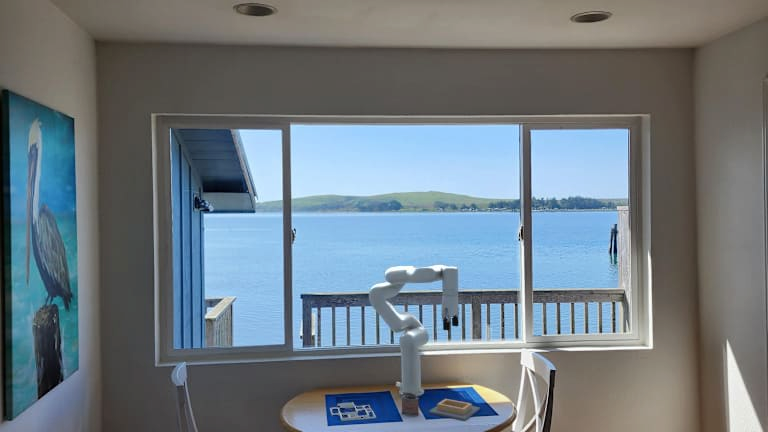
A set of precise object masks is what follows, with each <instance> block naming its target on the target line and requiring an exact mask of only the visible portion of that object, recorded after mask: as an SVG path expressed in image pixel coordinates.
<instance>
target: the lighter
mask: <svg viewBox="0 0 768 432" xmlns="http://www.w3.org/2000/svg"><path fill="white" fill-rule="evenodd" d="M403 395H406V396H402V395H401V397H400V398H401V415H405V416H415V417H416V416H417V417H418V416H419V415H420V413H419V400H420V399H419V398H420V397H418V396H416V393H412V392H410V393H408V392H403Z"/></svg>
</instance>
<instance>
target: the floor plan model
mask: <svg viewBox="0 0 768 432" xmlns="http://www.w3.org/2000/svg"><path fill="white" fill-rule="evenodd" d="M338 406H340V407H338ZM366 406H368V407H367V408H365V407H366ZM356 407H357V408H356ZM340 408H345V409H354V408H355V409H354V411H351V412H349V411H348V412H341V411H340V410H341V409H340ZM333 409H338V410H337V412H336V413H333V411H334V410H333ZM362 410H365V411H364V412H365V413H366V414H365V415H364V414H363V415H358V414H359V412H363V411H362ZM329 412H330V414H331V417H334V416H333V415H338V416H339V418H340V421H341V422H347V421H348V422H349V421H357V420H358V421H359V420H369V419H371V420H373V419H377V416H376V414H375V413H374V410H373V409H372V408H371V406H370V404H365V405H364V404H363V405H356V404H355V403H354V402H353V401H352V402H343V403H342V402H341V403H337V406H336V407H329ZM370 412H371V413H370ZM370 414H372V416H370ZM342 415H343V416H342ZM344 415H347V417H345V416H344ZM361 417H363V418H361Z"/></svg>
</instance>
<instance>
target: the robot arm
mask: <svg viewBox="0 0 768 432" xmlns="http://www.w3.org/2000/svg"><path fill="white" fill-rule="evenodd" d="M384 279H385V280H386V281H385V282H381V283H376V284H374V285H373V286H371V288H370V289H369V293H368V299H369V303H370V305H371V306H372V308H373V309H374V310H375V311H376V313H378V315H379V316H380V317H381V319H382V320H383V321H384V322H385V324H386V325H387V326H388V328H389V329H390V330H391V331H392V332H394V333H396V334H399V333H401V335H400V337H399V349H400V355H401V357H400V359H401V382H400V381H396V383H395V387H396V388H399V390H398V394H399V395H401V397H402V396H406V395H403V392H408V393H410V392H412V393H416V397H420V396H422V395H424V393H425V390H424V388H422V382H421V355H420V354H421V353H420V352H419V348H420V347H424V346H425V345H427V343H428V342H429V339H430V335H429V332H428V331H427V329H426V327H425V326H424V325H423V324H422V323H421V322H420V321H419V319H418V318H417V317H416V315H414V314H413V313H412V312H410V311H403V312H401V311H399V310H398V309H397V308H396V307H395V305H393V304H392V303H391V302H389V301H388V300H387V299H391V298H394V297H396V296H397V295H398V294H399V293H400V292H401V290H402V289H403V288H404V286H405V285H407V284H428V283H429V284H430V283H434V282H439V281H441V282H442V285H441V286H442V288H441V289H442V298H441V314H440V315H441V320H442V329H443V331H450V330H451V326H452V327H459V317H460V316H459V315H460V307H459V269H458V267H457V266H450V265H449V266H446V265H443V264H435V265H432V266H424V267H415V266H413V265H409V266H404V265H400V266H399V265H398V266H392V267H390V268H388V269H387V270H386V271H385V274H384ZM450 319H451V322H450Z"/></svg>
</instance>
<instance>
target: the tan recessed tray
mask: <svg viewBox="0 0 768 432" xmlns="http://www.w3.org/2000/svg"><path fill="white" fill-rule="evenodd" d="M480 409H481V407H479V406H474V405H473V403H470V402H465V401H460V400H455V399H448V398H444V399H442V400H441V401H439V402H438V403H437V404H436V406H435V407H433V408H431V409H430V410H428V414H430V415H436V416H440V417H444V418H450V419H455V420H460V421H465V422H466V421H467V420H468V419H470V418H471V417H473V416H474V415H475V414H476V413H477V412H478V411H480Z"/></svg>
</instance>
